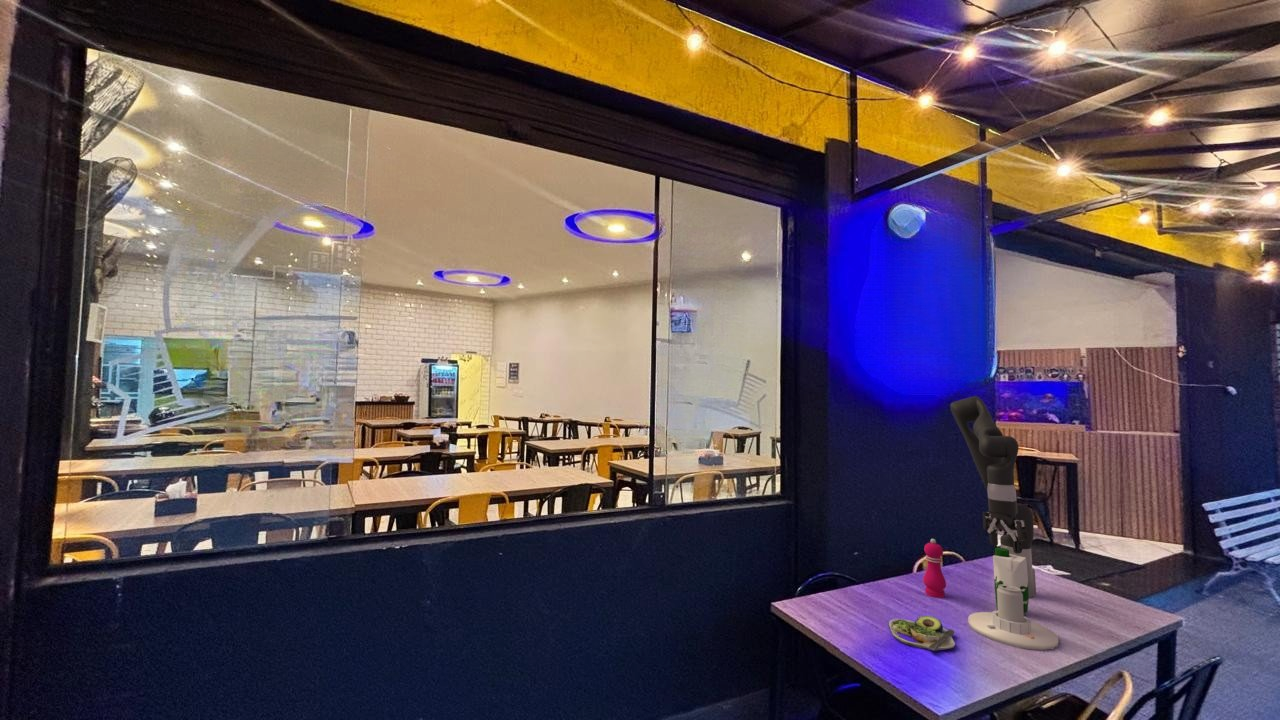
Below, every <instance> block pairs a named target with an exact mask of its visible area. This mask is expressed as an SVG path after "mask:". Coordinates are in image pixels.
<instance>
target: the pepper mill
mask: <svg viewBox="0 0 1280 720" xmlns="http://www.w3.org/2000/svg"><path fill="white" fill-rule="evenodd" d="M923 549H924V553H925V560H926V561H927V568H926V571H925V573H924V575H923V578H922V579H923V584H924V585H925V586H926V587H924V593H925V594H926V595H927V596H929V597H932V598H937V599H939V598H940V599H943V597H944V598H945V597H946V591H945V590H944V589H945V588H946V587H947V582H946V581H947V580H946V577H945V576H944V574H943V572H942V568H941V563H942V561H943V560H942V556H943V554H944V551H943V550H944V549H943V547H942V546H941V545H940V544H938V543H937V541H936V539H935V538H931V539H930V542H927V543H926V544H925V545H924V548H923Z"/></svg>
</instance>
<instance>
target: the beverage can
mask: <svg viewBox="0 0 1280 720" xmlns="http://www.w3.org/2000/svg"><path fill="white" fill-rule="evenodd" d="M997 604H998V610H997V611H998V617H1000V618H1002V619H1005V620H1008V621H1012V622H1018V623H1020V622H1024V616H1025V615H1024V611H1023V594H1022V592H1021V589H1020V588H1018V587H1015V586H1011V585H1005V584H1000V585H998V588H997Z"/></svg>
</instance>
